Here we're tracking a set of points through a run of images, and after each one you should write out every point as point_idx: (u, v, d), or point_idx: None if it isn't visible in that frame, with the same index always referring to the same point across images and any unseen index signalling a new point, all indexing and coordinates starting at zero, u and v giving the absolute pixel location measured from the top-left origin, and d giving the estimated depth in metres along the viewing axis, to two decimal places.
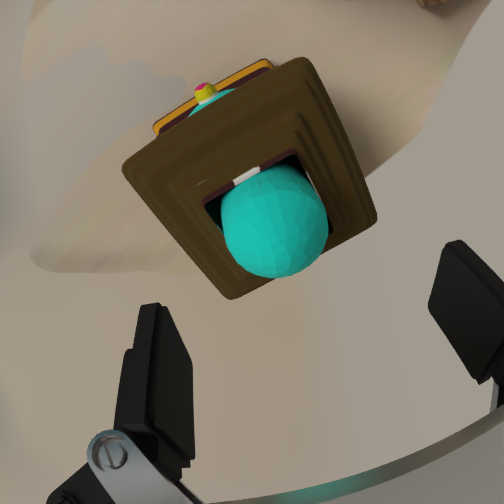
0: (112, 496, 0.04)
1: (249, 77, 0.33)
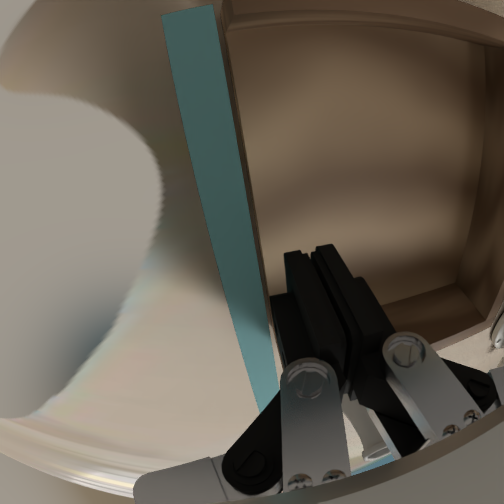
0: (283, 419, 0.05)
1: None
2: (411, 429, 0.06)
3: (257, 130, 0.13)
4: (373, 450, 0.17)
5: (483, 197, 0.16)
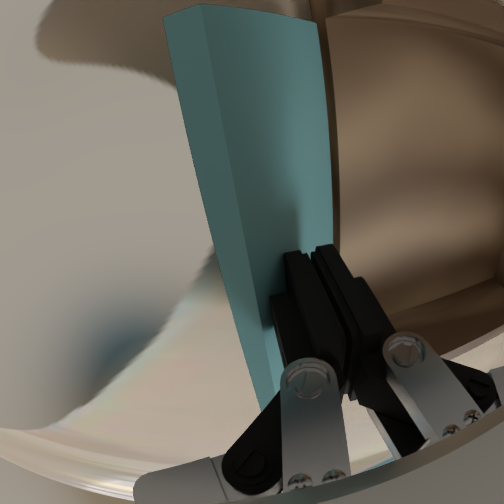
0: (283, 419, 0.05)
1: None
2: (411, 429, 0.06)
3: (350, 122, 0.12)
4: None
5: None
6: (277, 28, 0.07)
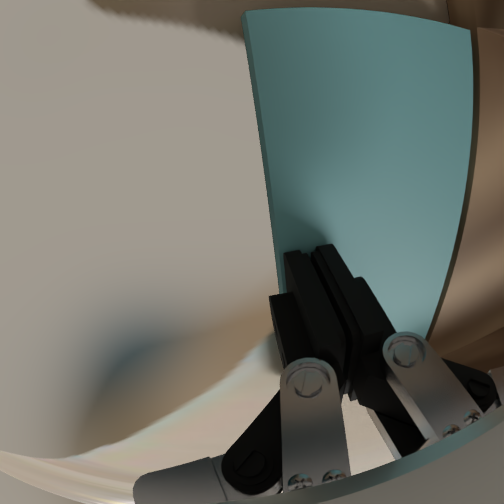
0: (282, 418, 0.05)
1: None
2: (411, 429, 0.06)
3: (487, 149, 0.09)
4: None
5: None
6: (374, 26, 0.06)
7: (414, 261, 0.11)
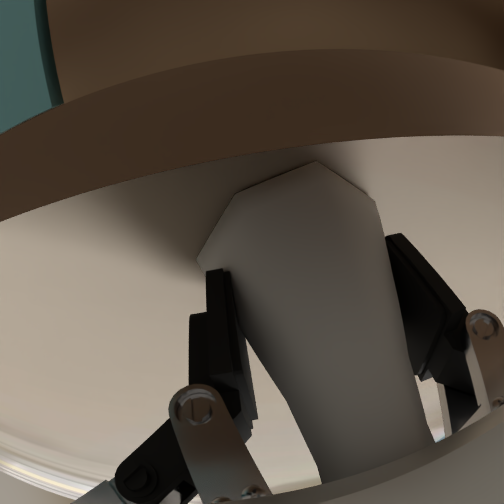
0: (183, 450, 0.05)
1: None
2: (467, 407, 0.06)
3: None
4: None
5: None
6: None
7: None
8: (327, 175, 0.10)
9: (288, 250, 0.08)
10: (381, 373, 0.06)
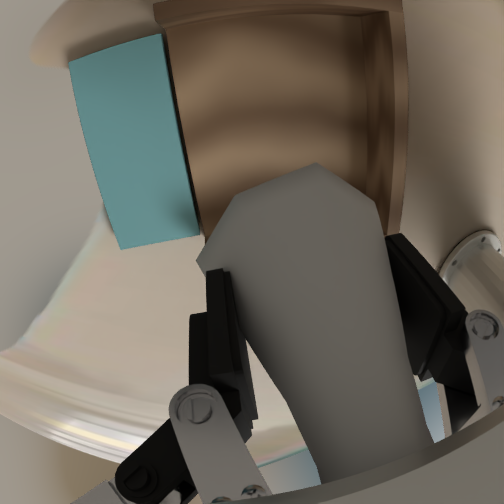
0: (183, 450, 0.05)
1: None
2: (467, 408, 0.06)
3: (183, 85, 0.20)
4: None
5: (371, 131, 0.23)
6: (109, 53, 0.18)
7: (153, 148, 0.22)
8: (327, 176, 0.10)
9: (287, 251, 0.08)
10: (380, 374, 0.06)
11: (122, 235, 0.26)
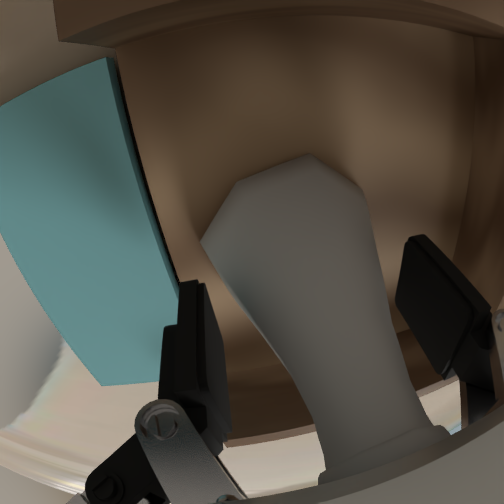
0: (153, 466, 0.05)
1: None
2: (485, 405, 0.06)
3: (160, 164, 0.11)
4: None
5: (469, 228, 0.13)
6: (18, 108, 0.08)
7: (121, 275, 0.13)
8: (319, 165, 0.11)
9: (284, 229, 0.09)
10: (366, 332, 0.07)
11: (100, 373, 0.17)
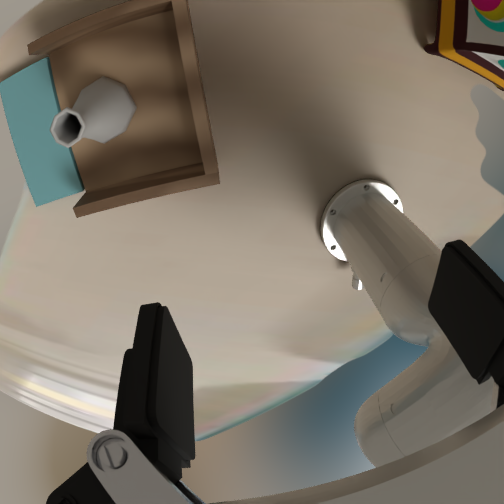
0: (112, 496, 0.04)
1: (471, 56, 0.24)
2: None
3: (60, 88, 0.26)
4: (54, 117, 0.19)
5: None
6: (19, 75, 0.23)
7: (47, 133, 0.28)
8: (104, 78, 0.26)
9: (82, 95, 0.24)
10: (80, 104, 0.22)
11: (36, 195, 0.32)
